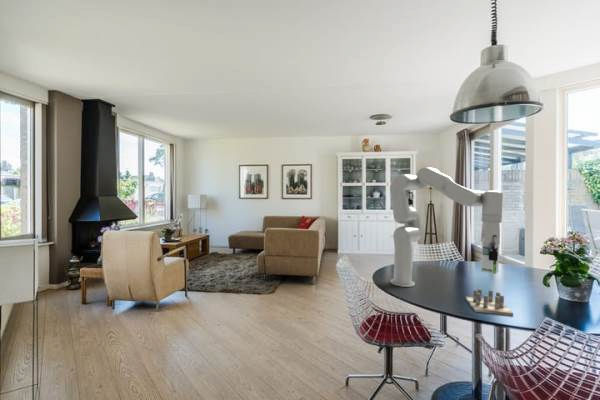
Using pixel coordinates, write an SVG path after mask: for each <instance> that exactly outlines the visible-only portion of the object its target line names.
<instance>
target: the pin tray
mask: <svg viewBox="0 0 600 400" xmlns="http://www.w3.org/2000/svg"><path fill="white" fill-rule="evenodd" d="M472 293H473V295H472V296H473V297H472V296H465V300H466V301H467V302H468V304H469V305H470V307H471V308H472V309H473V311H474V312H478V313H485V314H492V313H494V315H500V316H501V315H502V316H507V317H513V316H514V313H513V311H512V310H511V309H510V308H509V307H508V306H506V304H504V303H505V301H504V300H505V296H504V295H501V292H499V291H497V292H495V296H494V295H493V294H494V291H493V290H491V289H489V290H488V295H487V294H484V295H482V293H483V290H482V289H481V288H478V289H473V292H472ZM482 296H483V298H482ZM493 296H494V297H495V298H494V299H493Z"/></svg>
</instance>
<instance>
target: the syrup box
mask: <svg viewBox="0 0 600 400" xmlns="http://www.w3.org/2000/svg"><path fill="white" fill-rule="evenodd" d="M481 243H482V244H481V262H480V272H481V273H483V272H484V273H488V274H493V275H496V274H497V273H499V267H500V266H499V265H500V264H499V263H500V245H501V241H500V242H499V245H498V260H497V261H492V260H489V251H490V247H489V244H488V245H486V244H485V243H484V239H483V240H482V242H481ZM491 244H494V243H491Z"/></svg>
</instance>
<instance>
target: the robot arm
mask: <svg viewBox="0 0 600 400" xmlns="http://www.w3.org/2000/svg"><path fill="white" fill-rule="evenodd" d="M427 187H429V188H432V189H434V190H435V191H438V192H440V193H441V194H442V195H444V196H445V197H446V198H448V199H450V200H452V201H454V202H456V203H458V204H459V205H462V206H464V207H481V222H482V224H481V232H480V233H481V234H480V242H481V243H482V240H483V239H484V243H485V244H486V245H488V244H489V247H490V251H489V260H492V261H497V260H498V245H499V242H500V243H501V237H500V236H501V225H500V224H502V222H503V215H502V214H503V199H504V198H503V197H504V194H503V192H502V191H501V190H500V191H499V190H485V191H484V190H483V191H482V190H476V189H469V188H466V187H464V186H462V185H460V184H458V183H456V182H455V181H453V178H452V177H451V176H449V175H447V174H445V173H442V172H441V171H440V170H439V169H437V168H434V167H429V166H423V167H421V168H419V169H418V170H417V172H416V174H408V173H402V174H397V175H396V176H394V177H393V179H392V180H391V182H390V185H389V193H390V197H391V205H392V213H393V219H394V221H395V222H396V223H397V224H400V225H402V226H398V227H397V228H396V229H395V230H394V231H393V236H392V237H393V243H394V250H393V251H394V254H393V255H394V256H393V257H394V259H393V260H394V261H393V278H391V279H390V283H391V284H392V285H394V286H398V287H404V288H411V287H414V286H415V285H416V284H415V281H413V260H414V258H413V256H414V255H413V254H414V251H413V246H412V243H416V242H417V243H418V242H419V241H420V239H421V238H422V228H421V227H422V226H421V221H420V219H421V218H420V214H419V212H418V210H417V209H416V208H415V207H413V206H410V205H409V199H408V196H407V194H406V191H417V190H420V189H423V188H427ZM491 243H494V244H491Z"/></svg>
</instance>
